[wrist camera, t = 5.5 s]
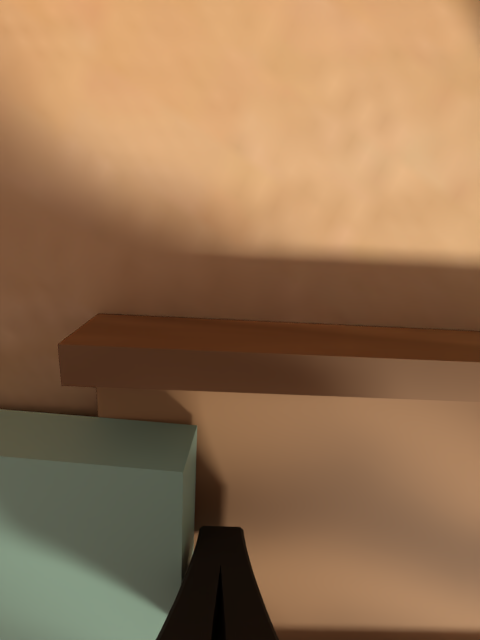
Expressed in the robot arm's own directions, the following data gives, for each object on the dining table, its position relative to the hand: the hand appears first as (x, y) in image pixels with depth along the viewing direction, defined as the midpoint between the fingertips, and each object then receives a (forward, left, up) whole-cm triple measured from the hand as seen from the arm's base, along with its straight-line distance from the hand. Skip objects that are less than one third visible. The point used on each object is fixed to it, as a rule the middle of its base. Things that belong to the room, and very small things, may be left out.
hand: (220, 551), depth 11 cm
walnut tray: (0, -4, -1) cm, 4 cm away
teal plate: (0, +6, -1) cm, 6 cm away
